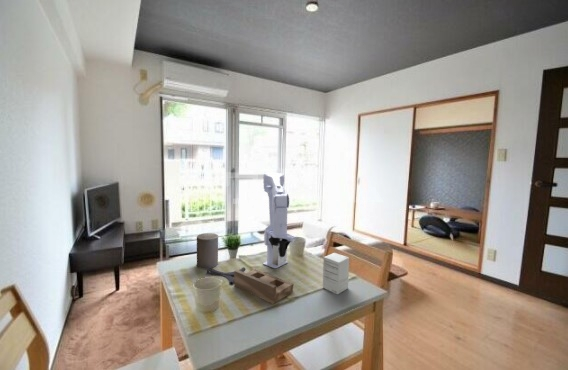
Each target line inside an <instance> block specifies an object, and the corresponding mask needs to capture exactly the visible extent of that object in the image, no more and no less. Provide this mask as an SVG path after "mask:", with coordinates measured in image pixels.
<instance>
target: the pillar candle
mask: <svg viewBox="0 0 568 370" xmlns="http://www.w3.org/2000/svg"><path fill="white" fill-rule="evenodd" d="M218 264H219V235H218V234H216V233H213V232H205V233H201V234H197V236H196V267H197V268H199V269H205V270H206V269H207V270H208V269H209V268H212V269H213V268H215V267H218Z"/></svg>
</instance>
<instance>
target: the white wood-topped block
mask: <svg viewBox="0 0 568 370" xmlns="http://www.w3.org/2000/svg"><path fill="white" fill-rule="evenodd" d="M286 261H287V258H286V253H285V256H284V257H281V256H280V245H279V243H277V244H274V245H273V259H272V264H274V265H277V266H279V265H281V264H283V263H285V262H286Z"/></svg>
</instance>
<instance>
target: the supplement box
mask: <svg viewBox="0 0 568 370" xmlns="http://www.w3.org/2000/svg"><path fill="white" fill-rule="evenodd" d="M322 264H323V266H322V267H323V269H322V270H323V271H322V288H323V289H325V290H327V291H330V292H331V293H333V294H336V295H340V294H341V293H342V292H344V291H346V290H347V289H349V271H350V257H348V256H346V255H342V254H339V253H337V252H332V253H331V254H328V255H326V256H323V263H322Z"/></svg>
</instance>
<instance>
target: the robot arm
mask: <svg viewBox="0 0 568 370" xmlns="http://www.w3.org/2000/svg"><path fill="white" fill-rule="evenodd" d="M262 178H263V180H262V181H263V190H264V191H263V192H266V193H267V196H268V210H269V225H268V226H267V227H266V228H265V229H264V236H263V240H264V241H263V242H264V246H266V261H265V262H263V263H262V265H265V266H267V267H270V268H273V269H278V268H279V267H281V266H284V265H286V264H288V263H289V261H287V260H286V262H285V263H283V264H281V265H279V266H277V265H274V264H272V259H273V245H274V244H277V243H279V245H280V256H281V257H284V256H285V253H286V259H287V257H288V256H287V255H288V254H287V250H288V247H289V245H290V244H292V243H295V242H296V236H294V235H291V234H289V233H288V209H289V206H290V196H289V194H288V193H286V190H285V188H284V185H285V175H284V173H266V172H264V174H263V177H262Z"/></svg>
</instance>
